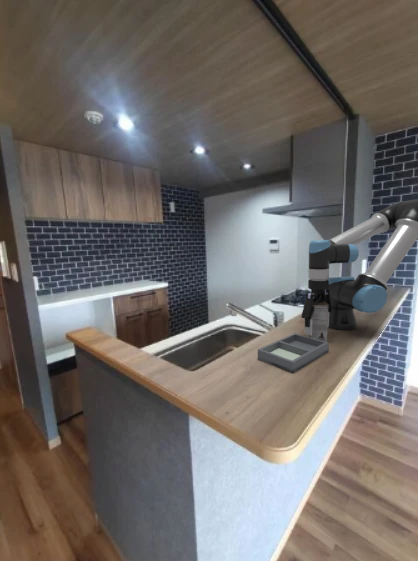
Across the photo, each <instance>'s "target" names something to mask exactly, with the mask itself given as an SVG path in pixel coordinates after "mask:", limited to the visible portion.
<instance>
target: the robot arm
mask: <svg viewBox="0 0 418 561" xmlns="http://www.w3.org/2000/svg"><path fill="white" fill-rule="evenodd" d="M390 230H394V231H393V233H392V234H391V235H390V236H389V238H388V239H387V241H386V242H385V244H384V245H383V246H382V248H381V249H380V251H379V252H378V254H377V255H376V256H375V258H374V260H372V262H371V263H370V265H369V266H368V268H367V269H366V271H365V272H362V273H359V274H358V275H357V277H356V278H355V276H337V277H336V276H334V277H333V276H332V277H331V276H330V264H331V265H333V264H350V263H354V262H356V261H357V260H358V258H359V256H360V255H359V254H360V251H359V248H358V246H357V245H358V244H361V242H364V241H366V240H369V239H370V238H372V237H373V236H375V235H377V234H379V233H380V234H381V233H382V234H383V233H386V232H388V231H390ZM417 240H418V199H410V200H405V201H399V202H396V203H393V204H391V205H389V206H388V207H385V208H383V209H382V210H380V211H377V212H376V213H374V214H372V216H371V217H370V218H369V219H367V220H365V221H362V222H361V223H359V224H358V225H355V226H353V227H351V228H349V229H347V230H346V231H344V232H342V233H340V234H338V235H335V236H334V237H332V238H330V239H318V240H317V239H316V240H315V239H314V240H311V241H310V242H309V246H308V270H307V273H308V283H307V284H308V285H307V289H309V290H310V293H309V292H307V293H306V294H305V296H306V297H305V301H304V306H303V308H302V313H301V316H300V317H301V318H302V319H304V335H306V336H308V335H312V319H311V317H312V315H313V312H314V306H313V307H312V303H313V304H318V303H319V302H321V301H323V300H324V301H326V302H327V304H328V325H327V329H328V328H329V329H333V330H340V331H341V330H342V331H346V330H353V329H356V328H357V327H358V326H357V325H358V323H357V322H358V321H357V319H356V315H355V313H354V310H356V311H358V312H362V313H367V314H371V313H377V312H379V311H380V310H381V309H382V308H384V306H385V305H386V304H387V301H388V298H387V297H388V293H387V290H388V285H387V283H388V281H389V280H390V278H391V277H392V275H393V274H394V273H395V271H396V270H397V268H398V267H399V265H400V264H401V262H402V261H403V259H404V258H405V257H406V255H407V254H408V252H409V251H410V250H411V248H412V247H413V245H414V244H415V242H417Z"/></svg>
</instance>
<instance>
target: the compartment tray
mask: <svg viewBox="0 0 418 561" xmlns="http://www.w3.org/2000/svg"><path fill="white" fill-rule="evenodd" d="M329 346H330V345H329V342H328V341H327V342H325V341H321V340H318V339H314V338H311V337H308V335H303V334H299V333H295V332H294V333H291V334H290V335H287V336H286V337H282V338H280V339H278V340H276V341H274V342H271V343H269V344H267V345H265V346H263V347H260V348H258V349H257V360H259V361H262V362H264V363H267V364H269V365H272V366H275V367H276V368H280V369H282V370H285V371H286V372H289V373H291V374H294V373H296V372H297V371H299V370H301V369H302V368H304V367H306V366H307V365H309V364H311V363H312V362H314V361H316V360H318V359H319V358H321V357H322V356H324V355H325V354H327V353H329V352H330V351H329V349H330V347H329Z"/></svg>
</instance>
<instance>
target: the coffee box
mask: <svg viewBox="0 0 418 561" xmlns="http://www.w3.org/2000/svg"><path fill="white" fill-rule="evenodd" d="M313 306H314V312H313V315H312V317H311V319H312V335H307V337H311V338H314V339H318V340H321V341H325V342H328V327H327V325H328V304H327V302H326V301H324V300H323V301H321V302H319V303H318V304H313V303H312V307H313Z"/></svg>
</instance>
